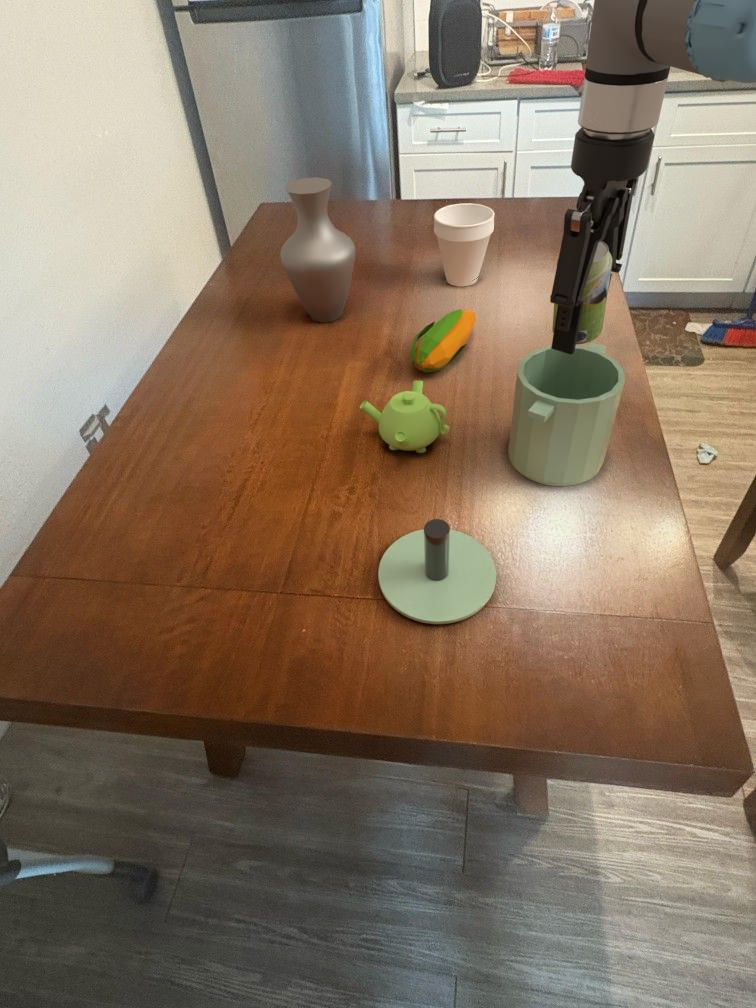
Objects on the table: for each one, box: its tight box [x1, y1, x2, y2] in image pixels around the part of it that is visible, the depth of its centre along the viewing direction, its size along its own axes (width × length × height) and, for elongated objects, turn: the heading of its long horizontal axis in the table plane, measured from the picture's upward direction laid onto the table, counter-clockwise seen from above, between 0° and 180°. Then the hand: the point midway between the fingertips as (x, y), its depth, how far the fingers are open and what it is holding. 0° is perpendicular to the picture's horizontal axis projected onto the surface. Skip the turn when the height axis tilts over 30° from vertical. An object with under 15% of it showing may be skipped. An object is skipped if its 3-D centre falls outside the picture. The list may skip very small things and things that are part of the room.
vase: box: [279, 176, 356, 323], centre depth 116 cm, size 14×14×25 cm
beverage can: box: [551, 241, 612, 346], centre depth 72 cm, size 6×7×12 cm
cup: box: [433, 202, 496, 287], centre depth 127 cm, size 12×12×14 cm
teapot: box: [359, 379, 450, 454], centre depth 92 cm, size 11×12×8 cm
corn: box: [409, 308, 477, 373], centre depth 109 cm, size 7×8×20 cm
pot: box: [507, 341, 625, 487], centre depth 85 cm, size 14×19×14 cm
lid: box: [377, 518, 497, 625], centre depth 73 cm, size 15×15×9 cm
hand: (576, 335), depth 76 cm, fingers closed on beverage can, 7 cm apart
